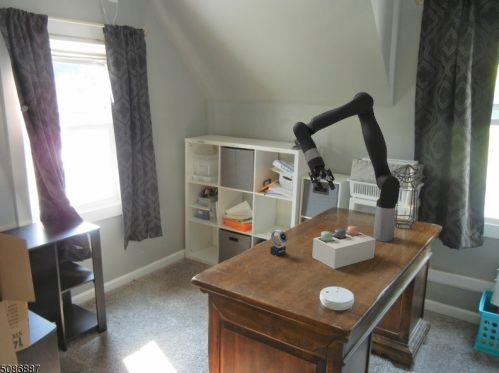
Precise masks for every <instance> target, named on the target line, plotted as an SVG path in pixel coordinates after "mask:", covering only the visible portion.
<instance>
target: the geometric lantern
mask: <svg viewBox="0 0 499 373" xmlns="http://www.w3.org/2000/svg"><path fill="white" fill-rule="evenodd" d="M410 170H412V171H413V172H411V171H410ZM390 171H391V170H390ZM402 171H403V172H402ZM407 172H408V173H407ZM391 174H392V175H393V176H395V177H396V178H397V179H398V180H399V182H400V188H401V187H403V188H412V189H403V191H407V192H411V198H410V204H409V205H410V206H409V207H410V208H409V214H398V204H399V200H398V201H397V203H396V208H395V218H394V221H395V228H396V229H400V227H399V226H401V225H402V226H409V228H408V227H401V229H405V230H412V228H413V225H415V223H416V222H418V195H419V194H418V193H419V189H418V186H419V184H420V183H421V182H422V181H423V179H424V178H426V176H425V175H423V174H422V173H421V172H420V171H418V170H417V169H416V168H415V167H414V166H413V165H412V164H404V165H402V166H399V167H398V168H395V169H394V170H392V171H391ZM401 174H403V175H401ZM416 174H417V175H418V176H415V177H414V175H416ZM412 179H413V180H412ZM406 180H407V181H406ZM414 181H418V182H417V184H416V185H415V186H414V184H413V182H414ZM401 182H403V184H410V185H411V186H409V185H403V184H402V183H401ZM412 204H413V206H412ZM412 209H413V210H412ZM411 213H412V215H411ZM398 216H399V217H408V218H407V219H406V220H401V219H397V218H398ZM410 217H411V219H410ZM400 222H401V223H400Z"/></svg>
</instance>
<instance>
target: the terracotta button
mask: <svg viewBox="0 0 499 373" xmlns="http://www.w3.org/2000/svg"><path fill="white" fill-rule="evenodd" d="M346 231H347V235H350V236H352V237H354V236H358V233H359V231H360V227H359V226H356V225H348V226H347V229H346Z"/></svg>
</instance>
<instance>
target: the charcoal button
mask: <svg viewBox="0 0 499 373" xmlns="http://www.w3.org/2000/svg"><path fill="white" fill-rule="evenodd" d="M346 231H347V229H345V228H338V227H337V228H335V229H334V233H333V234H334V237H335V238H337V239H339V240H341V239H345V238H346Z"/></svg>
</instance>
